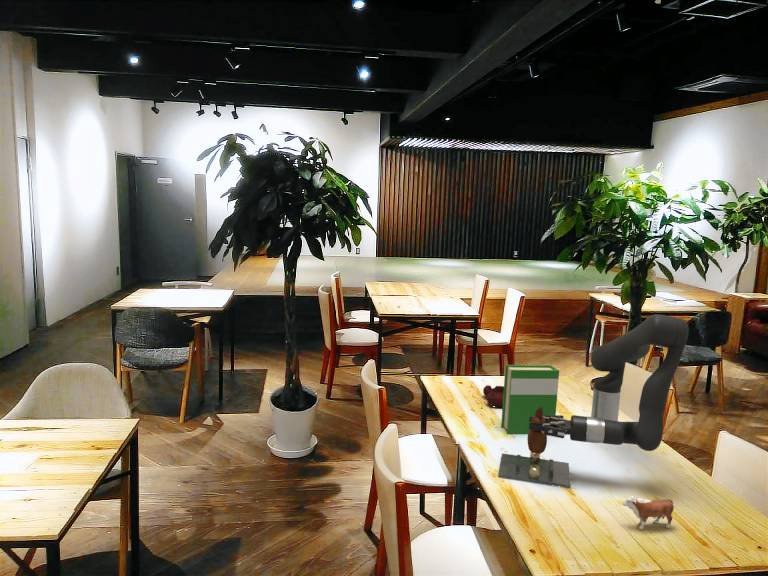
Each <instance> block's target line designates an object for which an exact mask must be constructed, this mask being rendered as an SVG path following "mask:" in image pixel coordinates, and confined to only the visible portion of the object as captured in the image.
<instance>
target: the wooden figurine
mask: <svg viewBox="0 0 768 576" xmlns="http://www.w3.org/2000/svg"><path fill="white" fill-rule="evenodd" d="M542 413H543V407H541V411H540V407H539V409H537V410H536V413H535V416H533V417H532V418H531V422H535V423H542V424H543V423H546V420H545V418H544V417H542ZM547 445H548V435H544V433H543V432H542V431H537V430H530V429H529V432H528V434H527V446H528V447H527V448H528V450H529V451H530V452H532V453H536V454H540V455H541V454H543V453H544V452H545V451H546V448H547Z"/></svg>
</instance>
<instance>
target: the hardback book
mask: <svg viewBox="0 0 768 576" xmlns="http://www.w3.org/2000/svg"><path fill="white" fill-rule="evenodd" d="M504 367H505V368H504V379H503V380H504V381H503V387H504V394H503V407H501V408H502V409H501V410H502V411H501V422H500V423H501V424H500V425H501V426H500V427H501V428H502V429H503V428H504V429H505V430H506V435H528V432H529V419H530V416H535V413H536V410H537V409H539V407H540V411H541V407H543V413H542V417H543V416H544V415H556V413H557V402H558V392H559V391H558V389H559V379H560V370H559V369H558V368H556V367H554V366H553V365H551V364H547V365H546V364H505V366H504ZM548 421H549V420H548Z"/></svg>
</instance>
